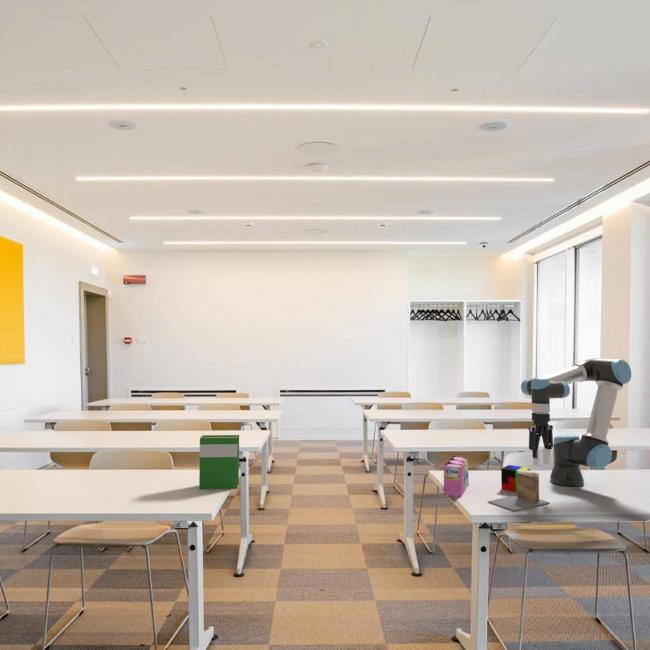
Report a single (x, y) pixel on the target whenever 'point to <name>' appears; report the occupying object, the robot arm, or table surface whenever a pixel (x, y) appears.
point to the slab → (528, 485)
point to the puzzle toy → (510, 477)
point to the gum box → (456, 476)
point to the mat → (516, 503)
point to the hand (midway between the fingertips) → (541, 464)
